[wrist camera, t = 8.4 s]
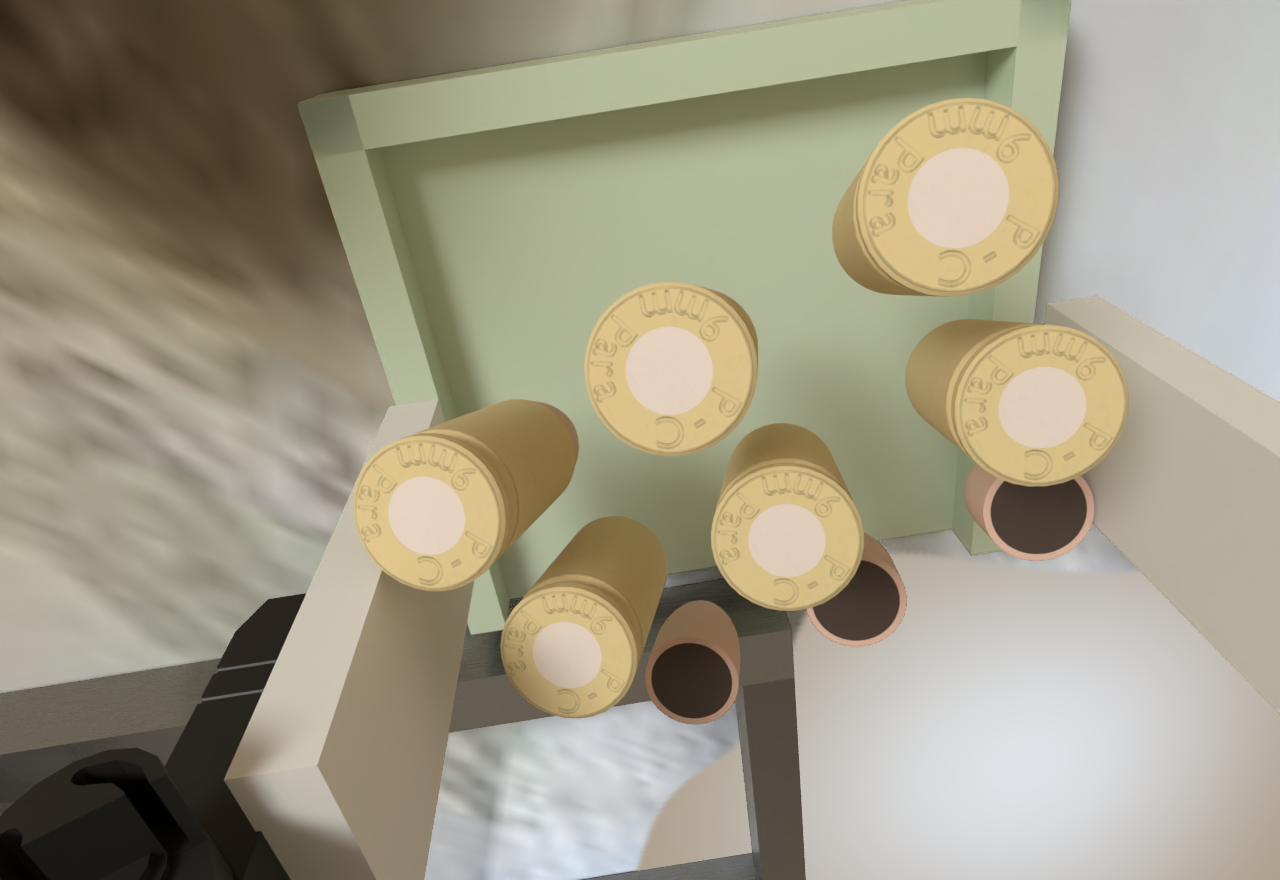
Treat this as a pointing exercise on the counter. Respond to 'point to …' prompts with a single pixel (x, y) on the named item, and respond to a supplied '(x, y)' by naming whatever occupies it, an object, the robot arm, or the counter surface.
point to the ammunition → (770, 439)
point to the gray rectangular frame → (454, 725)
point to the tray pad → (674, 244)
